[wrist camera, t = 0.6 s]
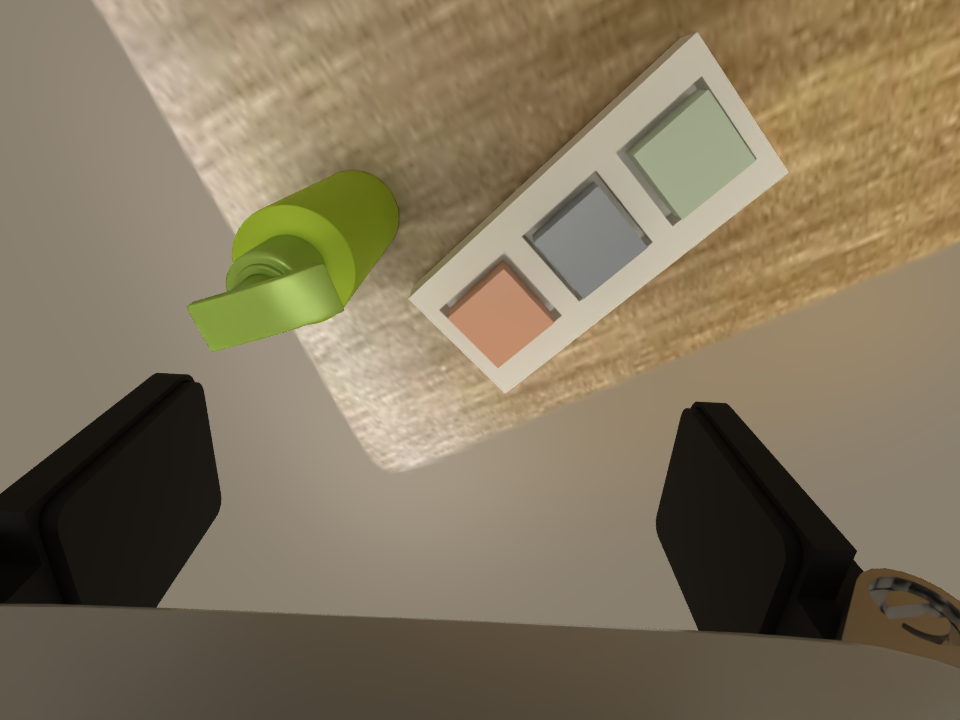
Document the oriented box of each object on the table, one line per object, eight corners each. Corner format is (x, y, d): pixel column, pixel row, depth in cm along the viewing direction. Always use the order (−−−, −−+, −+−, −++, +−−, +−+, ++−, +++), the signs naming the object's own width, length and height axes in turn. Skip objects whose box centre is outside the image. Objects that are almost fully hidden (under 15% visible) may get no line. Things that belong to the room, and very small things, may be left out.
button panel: (680, 37, 32) (697, 31, 30) (766, 166, 35) (788, 172, 33) (414, 285, 39) (408, 298, 37) (504, 375, 43) (505, 393, 40)
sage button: (696, 89, 31) (708, 89, 30) (741, 157, 33) (756, 160, 31) (625, 152, 33) (633, 155, 31) (672, 213, 34) (682, 220, 33)
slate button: (593, 181, 34) (598, 185, 32) (640, 240, 35) (648, 247, 33) (531, 235, 35) (533, 242, 33) (579, 289, 37) (583, 299, 35)
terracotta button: (503, 260, 36) (503, 268, 34) (551, 312, 37) (554, 323, 36) (449, 307, 38) (447, 318, 36) (497, 355, 39) (497, 368, 37)
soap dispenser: (424, 238, 38) (362, 364, 20) (335, 266, 39) (199, 408, 21) (395, 153, 36) (294, 209, 18) (300, 185, 37) (113, 268, 19)
